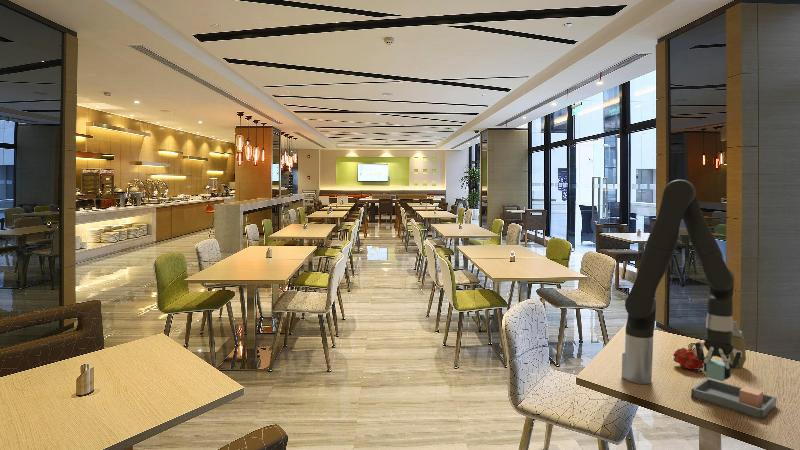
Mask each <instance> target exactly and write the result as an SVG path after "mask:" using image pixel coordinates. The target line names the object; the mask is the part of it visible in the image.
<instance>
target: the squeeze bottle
mask: <svg viewBox="0 0 800 450" xmlns="http://www.w3.org/2000/svg"><path fill="white" fill-rule="evenodd" d="M739 329H740V328H739V324H738V321H735V320H733V336H732V346H733V348H734V349H736V350H738V351H743V355H742V358H741V360H740V363H739V366H738V367H736V368H735V369H742V368H743V367H744V364H745V362H746V360H747V354H746V353H747V352H746V338H745V337H744V336H743V330H742V331H741V330H739ZM729 356H730V361H731V364H733V361H734V359H735V356H734V353H733V352H731V353H730V354H729Z"/></svg>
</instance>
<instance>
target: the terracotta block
mask: <svg viewBox="0 0 800 450" xmlns="http://www.w3.org/2000/svg"><path fill="white" fill-rule="evenodd" d="M741 388H742V389H741V390H740V395H739V402H740V403H743V404H746V405H750V406H753V407H756V408H761V407H762V401H763V394H764V391H763V390H761V389H756V388H755V387H754V388H753V387H750V386H746V385H744V386H743V387H741Z"/></svg>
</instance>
